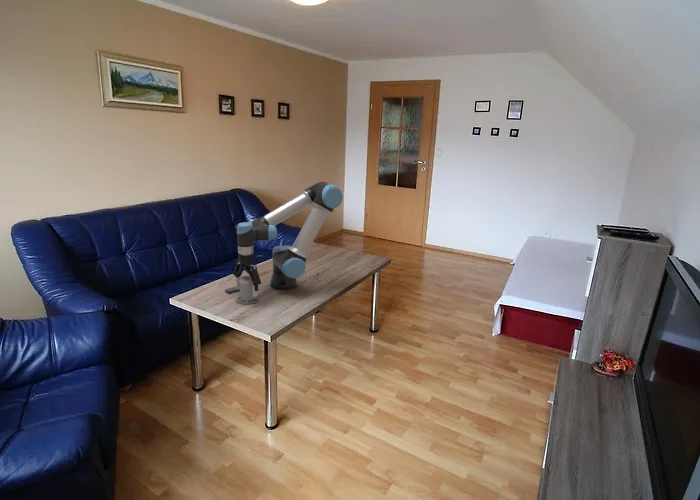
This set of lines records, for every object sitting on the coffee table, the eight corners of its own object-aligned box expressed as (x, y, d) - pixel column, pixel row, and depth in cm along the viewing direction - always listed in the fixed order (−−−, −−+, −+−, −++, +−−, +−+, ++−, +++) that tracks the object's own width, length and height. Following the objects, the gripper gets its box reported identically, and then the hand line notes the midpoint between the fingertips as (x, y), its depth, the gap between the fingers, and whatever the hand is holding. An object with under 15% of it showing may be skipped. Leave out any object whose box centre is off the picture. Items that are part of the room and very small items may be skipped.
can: (255, 295, 213) (254, 274, 209) (254, 301, 206) (254, 279, 202) (240, 296, 211) (239, 275, 208) (239, 302, 204) (238, 280, 201)
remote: (228, 295, 215) (228, 291, 214) (225, 292, 218) (224, 288, 217) (251, 288, 224) (251, 284, 224) (247, 286, 227) (247, 282, 226)
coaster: (249, 294, 216) (249, 293, 216) (262, 300, 209) (262, 299, 209) (232, 300, 208) (232, 299, 208) (245, 306, 201) (245, 305, 201)
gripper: (225, 249, 206) (227, 287, 212) (255, 260, 191) (256, 301, 197) (237, 246, 211) (239, 284, 218) (267, 257, 196) (268, 297, 203)
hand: (247, 292), depth 207 cm, fingers open, 13 cm apart
